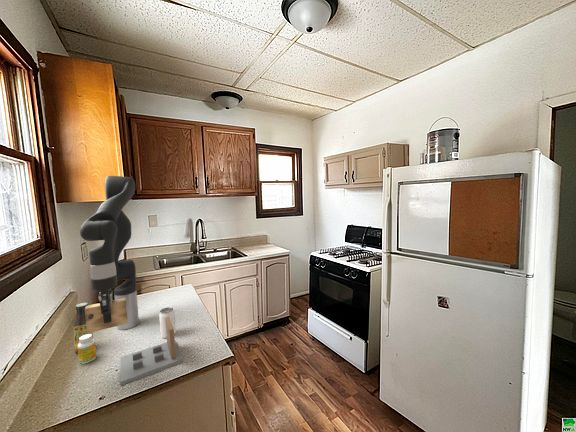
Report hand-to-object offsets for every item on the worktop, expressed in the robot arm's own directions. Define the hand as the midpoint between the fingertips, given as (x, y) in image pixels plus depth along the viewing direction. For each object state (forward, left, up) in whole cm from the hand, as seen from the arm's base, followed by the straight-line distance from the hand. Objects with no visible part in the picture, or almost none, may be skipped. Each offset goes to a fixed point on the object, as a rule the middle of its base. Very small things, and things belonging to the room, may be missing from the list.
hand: (108, 320), depth 91 cm
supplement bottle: (-15, 0, -19) cm, 25 cm away
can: (+2, +24, -19) cm, 31 cm away
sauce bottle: (-24, +4, -19) cm, 31 cm away
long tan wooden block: (0, 0, -2) cm, 2 cm away
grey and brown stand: (+10, +7, -19) cm, 23 cm away
